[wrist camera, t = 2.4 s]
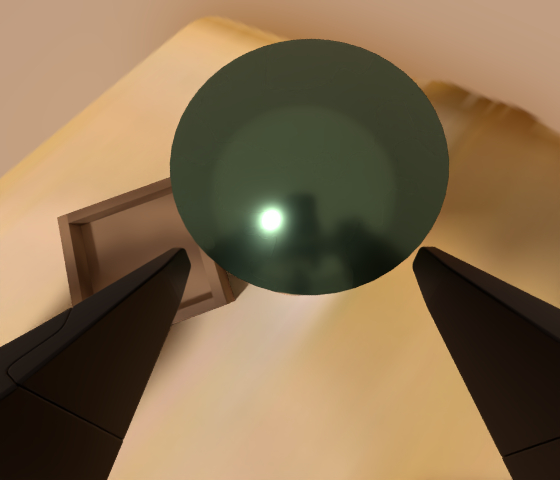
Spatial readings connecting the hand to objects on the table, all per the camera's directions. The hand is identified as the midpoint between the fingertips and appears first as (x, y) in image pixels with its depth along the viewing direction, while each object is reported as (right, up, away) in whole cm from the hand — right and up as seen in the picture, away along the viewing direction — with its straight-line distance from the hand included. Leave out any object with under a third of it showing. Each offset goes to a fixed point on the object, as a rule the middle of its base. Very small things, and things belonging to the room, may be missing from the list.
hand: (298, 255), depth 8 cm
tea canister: (+1, +1, +9) cm, 9 cm away
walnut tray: (-12, -1, +10) cm, 15 cm away
